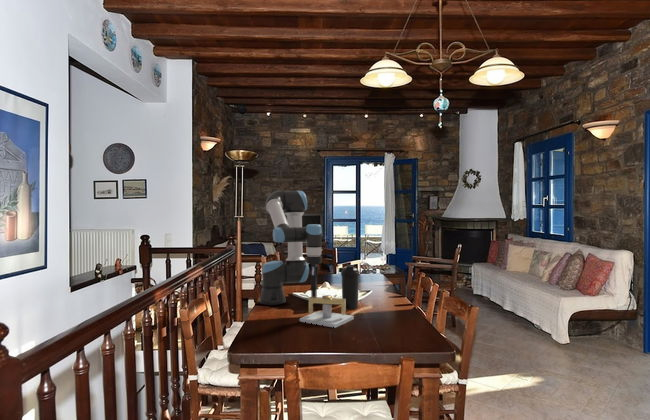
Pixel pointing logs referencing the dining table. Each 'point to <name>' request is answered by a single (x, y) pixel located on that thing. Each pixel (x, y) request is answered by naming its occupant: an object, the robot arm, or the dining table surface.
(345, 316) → the base
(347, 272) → the water bottle
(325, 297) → the yellow u-shaped block
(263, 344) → the dining table surface
